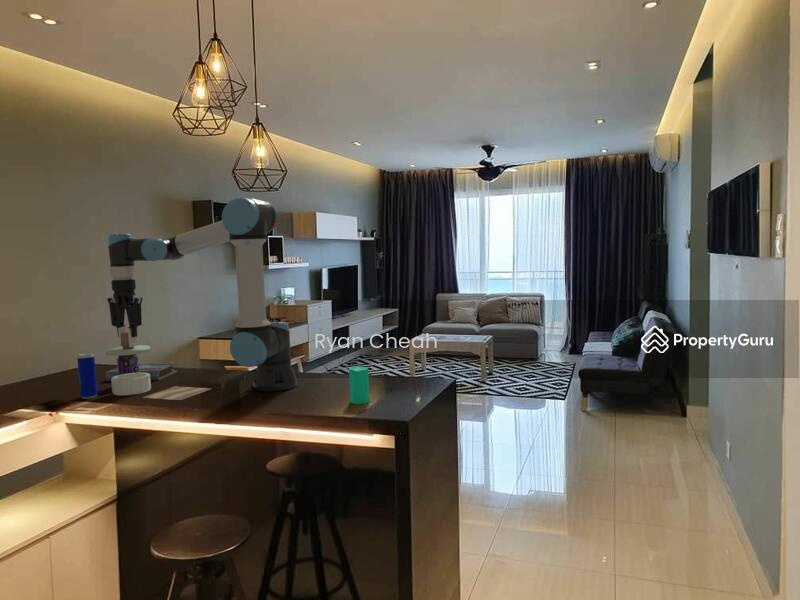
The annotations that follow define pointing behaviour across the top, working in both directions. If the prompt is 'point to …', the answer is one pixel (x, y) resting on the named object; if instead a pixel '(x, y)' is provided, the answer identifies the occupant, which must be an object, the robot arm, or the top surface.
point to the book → (149, 370)
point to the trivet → (177, 393)
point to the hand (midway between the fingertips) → (128, 346)
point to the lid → (127, 348)
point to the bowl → (131, 383)
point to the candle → (359, 385)
